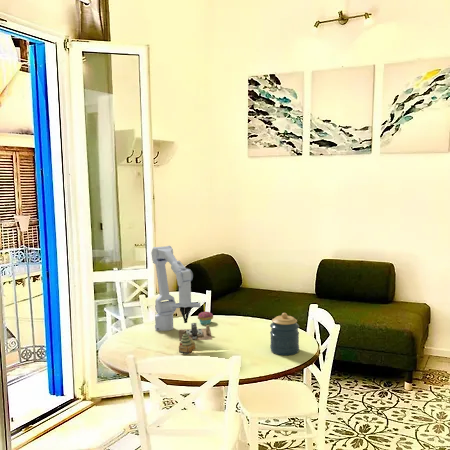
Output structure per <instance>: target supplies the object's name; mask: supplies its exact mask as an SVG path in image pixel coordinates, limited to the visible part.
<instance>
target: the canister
mask: <svg viewBox="0 0 450 450" xmlns="http://www.w3.org/2000/svg"><path fill="white" fill-rule="evenodd" d="M271 321H272V323H270V325H269V326H270V329H271V330H270V332H269V333H270V348H269V349H270V352H271V353H273V354H275V355H278V356H294V355H296V354H298V353H299V352H300V351H299V349H300V345H299V340H300V339H299V337H300V333H299V328H300V325H299V324H298V323H297V322H298V320H297V319H296V318H295V317H294V316H291V315H288V314H287V313H286V312H282V313H281V315H278V316H275V317H274V318H272V319H271Z"/></svg>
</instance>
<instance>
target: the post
mask: <svg viewBox="0 0 450 450" xmlns="http://www.w3.org/2000/svg"><path fill="white" fill-rule="evenodd" d="M190 325H191V326H190V327H191V328H190V329H191V332H192V327H193V326H196V327H197V326H198V325H197V323H196V322H192V323H190ZM197 328H198V327H197Z"/></svg>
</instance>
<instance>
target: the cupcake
mask: <svg viewBox="0 0 450 450" xmlns="http://www.w3.org/2000/svg"><path fill="white" fill-rule="evenodd" d="M205 304H206V303H203V311H201V312H200V313H198V315H197V319H198V320H199V322H200V324H201V325H210V324H211V321H212V320H213V319H214V315H213V313H212V312H211V311H206V305H205Z"/></svg>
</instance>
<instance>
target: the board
mask: <svg viewBox="0 0 450 450" xmlns="http://www.w3.org/2000/svg"><path fill="white" fill-rule="evenodd" d="M201 329H202V334H203V336H197V339H193V337H191V339H192V340H193V341H208V340H213V336H212V332H211V328H210V327H209V334H210V335H206V327H205V328H201ZM186 330H189V328H187V329H178V336H179V337H178V341H179V342H181V339H182V336H183V334H184V332H185V331H186Z"/></svg>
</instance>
